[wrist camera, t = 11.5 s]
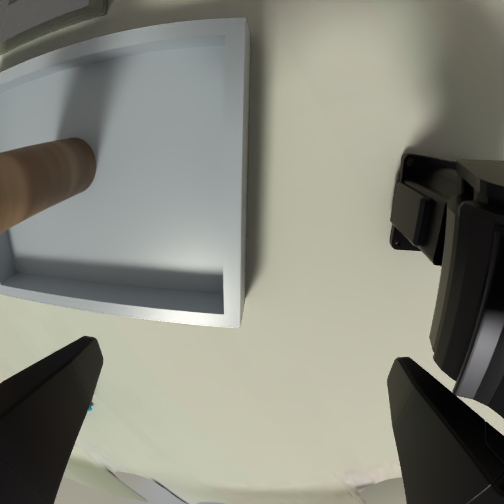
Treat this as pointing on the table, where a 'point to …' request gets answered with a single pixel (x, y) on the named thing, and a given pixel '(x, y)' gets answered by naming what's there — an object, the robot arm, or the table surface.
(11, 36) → the socket block
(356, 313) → the table surface
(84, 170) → the pin
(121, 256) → the tray
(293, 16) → the table surface
